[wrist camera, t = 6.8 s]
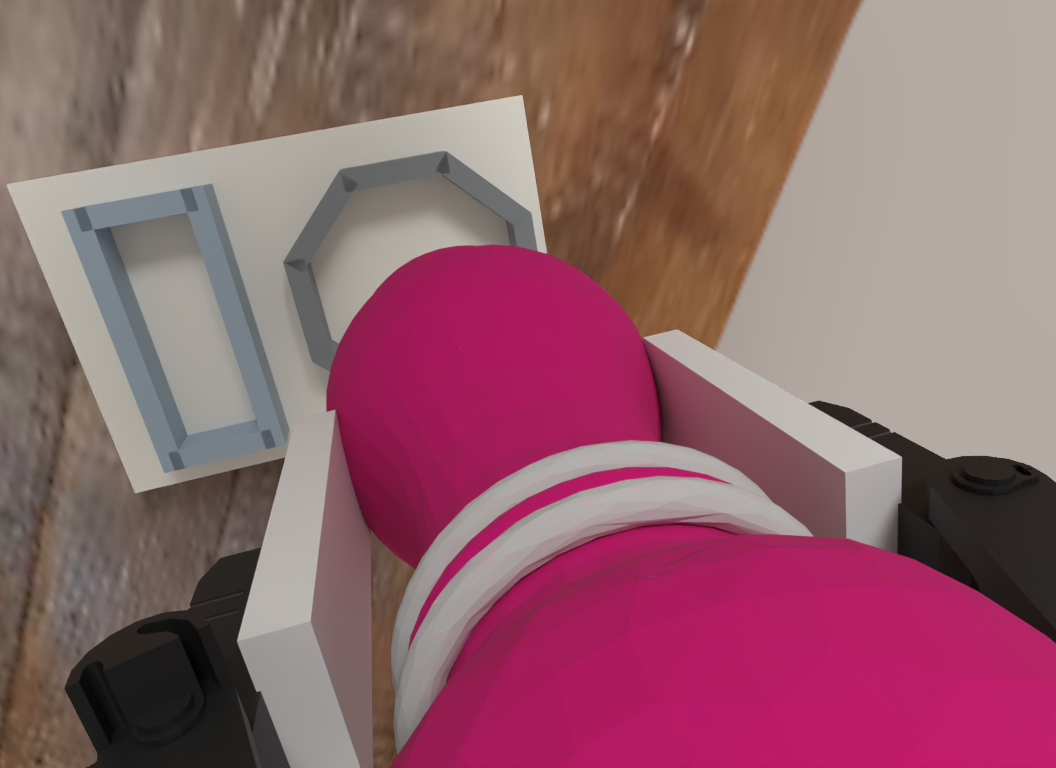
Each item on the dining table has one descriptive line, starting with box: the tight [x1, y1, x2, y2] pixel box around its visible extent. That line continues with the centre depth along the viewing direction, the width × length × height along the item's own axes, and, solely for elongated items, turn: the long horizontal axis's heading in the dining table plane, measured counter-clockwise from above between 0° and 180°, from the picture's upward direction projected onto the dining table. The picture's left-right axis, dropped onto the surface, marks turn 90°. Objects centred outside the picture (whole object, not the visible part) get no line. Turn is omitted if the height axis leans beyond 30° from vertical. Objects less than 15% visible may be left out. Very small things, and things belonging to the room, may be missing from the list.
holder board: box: [6, 95, 547, 493], centre depth 36 cm, size 16×24×4 cm, turn 100°
